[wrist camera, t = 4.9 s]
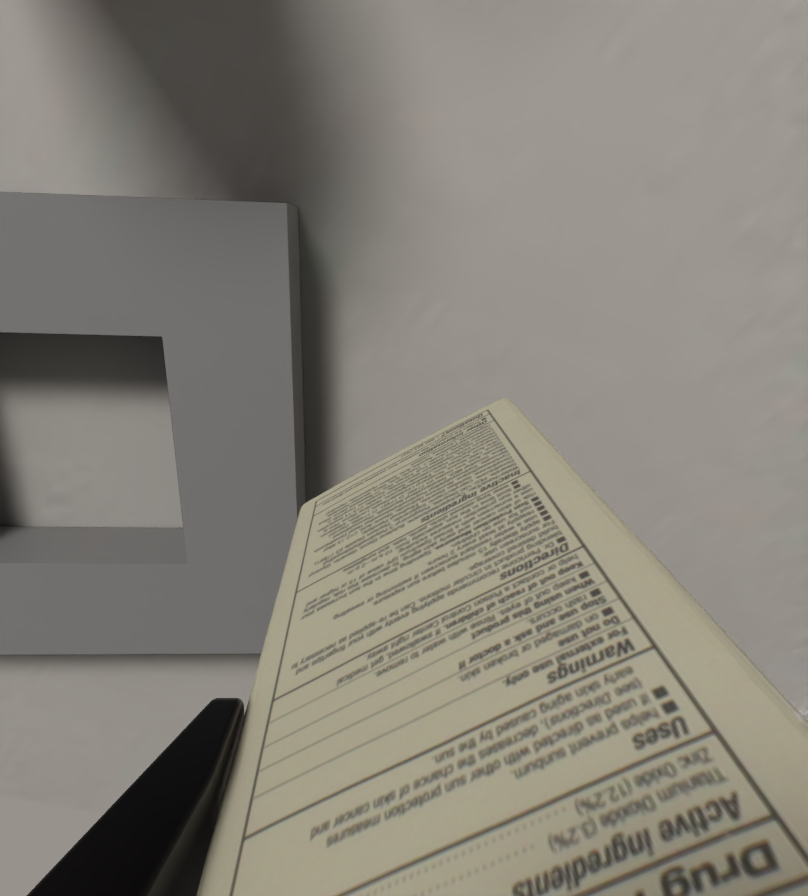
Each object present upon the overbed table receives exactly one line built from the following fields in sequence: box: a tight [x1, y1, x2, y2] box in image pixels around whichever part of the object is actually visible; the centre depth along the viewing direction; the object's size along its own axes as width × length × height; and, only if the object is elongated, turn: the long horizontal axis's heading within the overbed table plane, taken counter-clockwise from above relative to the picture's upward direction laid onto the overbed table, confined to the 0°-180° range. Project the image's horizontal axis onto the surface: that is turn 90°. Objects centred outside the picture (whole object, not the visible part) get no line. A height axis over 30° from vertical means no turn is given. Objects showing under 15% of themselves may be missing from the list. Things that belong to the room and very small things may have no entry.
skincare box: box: [196, 399, 808, 896], centre depth 10 cm, size 6×4×12 cm
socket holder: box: [0, 192, 306, 655], centre depth 19 cm, size 15×15×2 cm
